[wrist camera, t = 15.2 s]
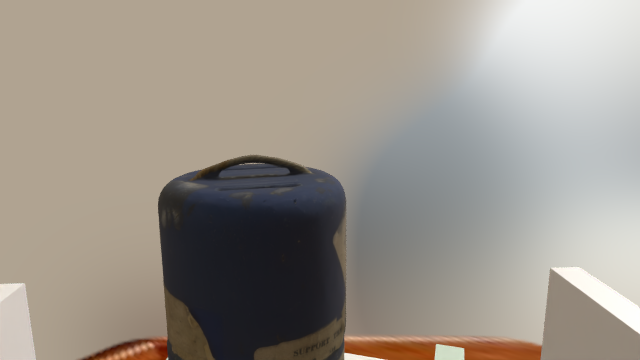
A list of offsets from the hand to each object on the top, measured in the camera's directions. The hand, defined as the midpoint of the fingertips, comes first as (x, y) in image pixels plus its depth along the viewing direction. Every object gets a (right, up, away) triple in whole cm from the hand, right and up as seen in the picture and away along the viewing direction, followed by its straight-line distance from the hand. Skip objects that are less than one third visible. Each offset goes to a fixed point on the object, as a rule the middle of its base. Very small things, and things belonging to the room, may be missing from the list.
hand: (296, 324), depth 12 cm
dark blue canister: (-3, -13, +16) cm, 21 cm away
